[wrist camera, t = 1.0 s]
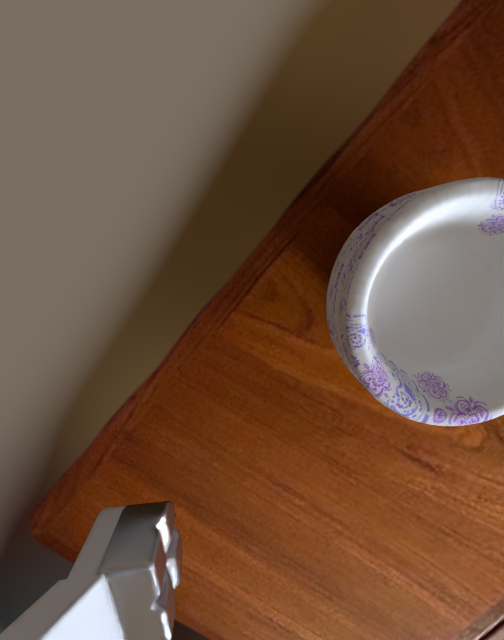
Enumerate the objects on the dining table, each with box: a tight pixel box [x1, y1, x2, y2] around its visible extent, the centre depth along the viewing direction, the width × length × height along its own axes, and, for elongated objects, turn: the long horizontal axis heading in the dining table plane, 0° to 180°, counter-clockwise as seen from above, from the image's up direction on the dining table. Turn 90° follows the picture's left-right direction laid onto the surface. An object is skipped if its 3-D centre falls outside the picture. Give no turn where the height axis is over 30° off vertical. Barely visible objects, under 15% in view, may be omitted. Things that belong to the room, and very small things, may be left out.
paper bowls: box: [326, 177, 504, 426], centre depth 24 cm, size 15×15×8 cm
